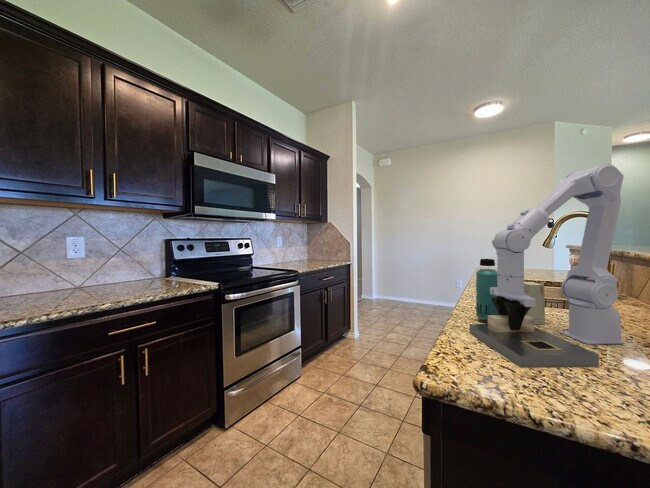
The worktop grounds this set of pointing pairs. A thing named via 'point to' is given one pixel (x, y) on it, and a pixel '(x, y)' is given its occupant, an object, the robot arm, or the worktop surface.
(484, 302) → the beverage bottle
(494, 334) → the charcoal cover panel
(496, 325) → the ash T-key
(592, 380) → the worktop surface
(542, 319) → the skincare box
